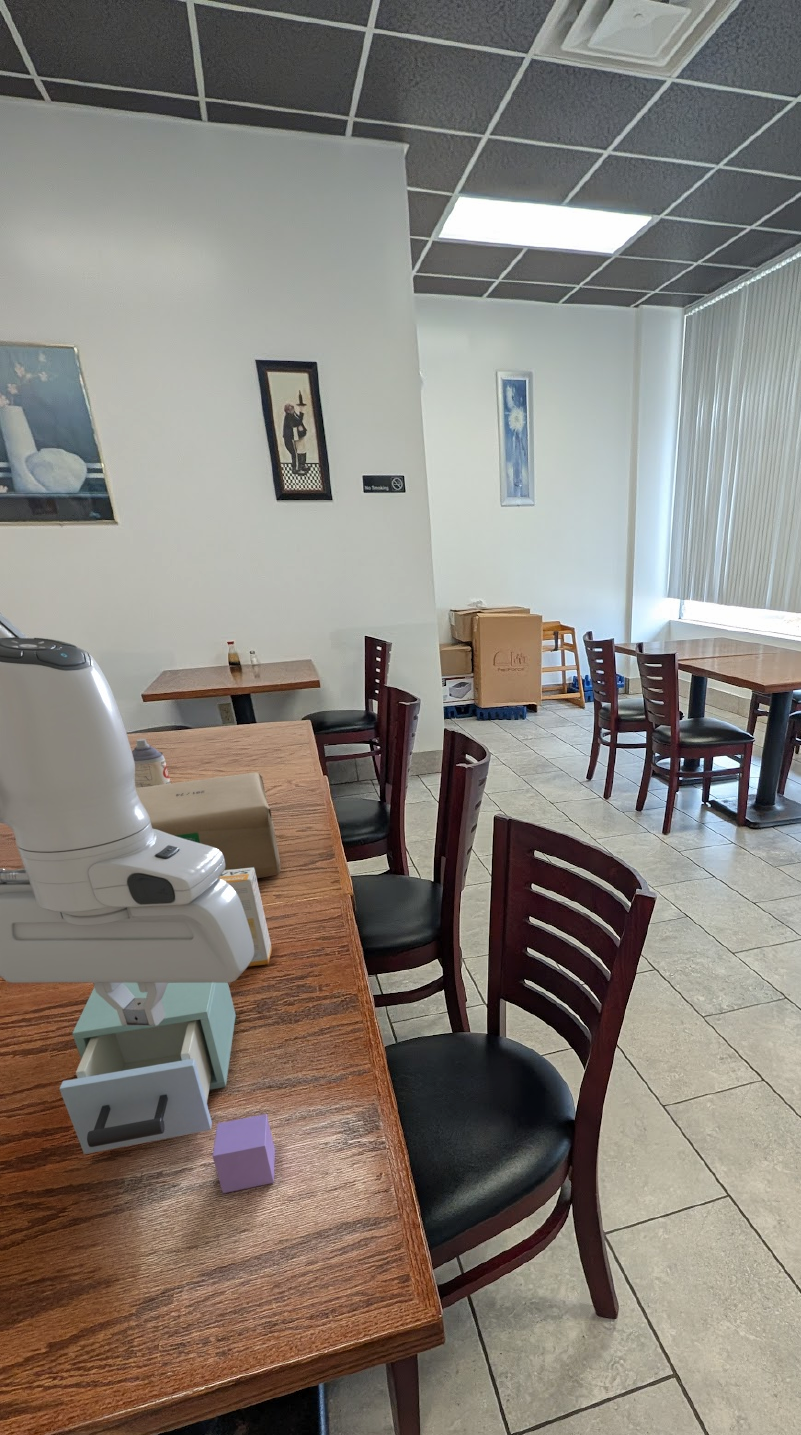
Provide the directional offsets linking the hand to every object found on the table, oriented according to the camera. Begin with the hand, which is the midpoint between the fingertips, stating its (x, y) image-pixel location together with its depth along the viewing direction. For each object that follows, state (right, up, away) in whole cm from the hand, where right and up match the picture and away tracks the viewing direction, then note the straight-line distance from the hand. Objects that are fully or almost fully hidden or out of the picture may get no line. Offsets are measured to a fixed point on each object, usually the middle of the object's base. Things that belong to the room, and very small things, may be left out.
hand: (144, 1021), depth 63 cm
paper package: (-27, +18, +77) cm, 83 cm away
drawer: (-6, -11, +13) cm, 18 cm away
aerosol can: (-42, +26, +94) cm, 106 cm away
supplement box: (-8, +2, +44) cm, 45 cm away
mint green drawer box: (-8, -7, +23) cm, 26 cm away
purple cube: (+6, -15, +7) cm, 18 cm away
